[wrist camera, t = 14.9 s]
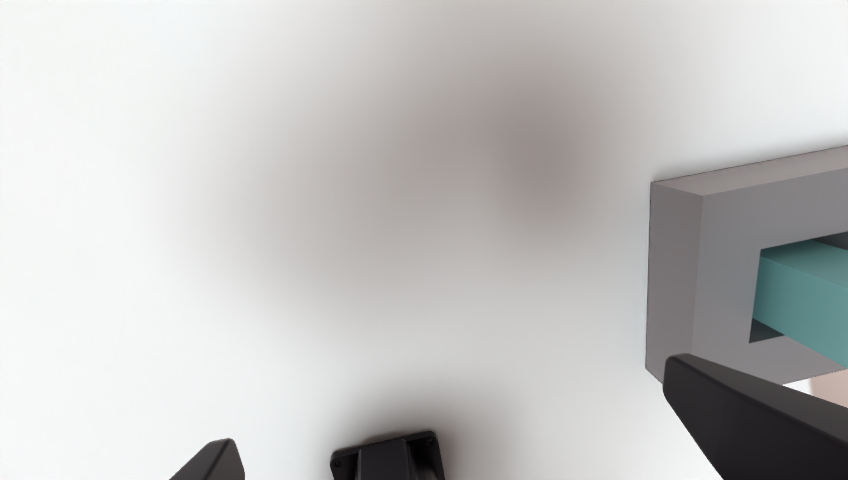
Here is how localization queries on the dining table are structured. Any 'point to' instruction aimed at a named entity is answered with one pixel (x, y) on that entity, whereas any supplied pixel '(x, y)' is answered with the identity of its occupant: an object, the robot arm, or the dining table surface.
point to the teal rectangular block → (805, 295)
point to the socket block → (737, 259)
